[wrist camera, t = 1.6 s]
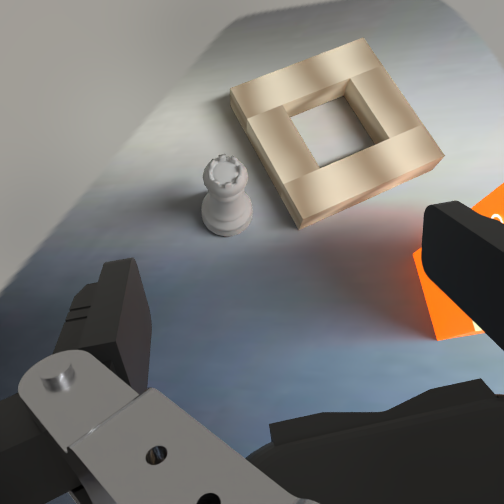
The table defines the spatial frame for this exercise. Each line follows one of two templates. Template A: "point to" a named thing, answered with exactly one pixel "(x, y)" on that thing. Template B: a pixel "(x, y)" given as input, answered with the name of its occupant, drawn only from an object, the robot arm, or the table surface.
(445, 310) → the orange juice
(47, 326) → the table surface
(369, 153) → the wooden square ring
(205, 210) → the rook chess piece
